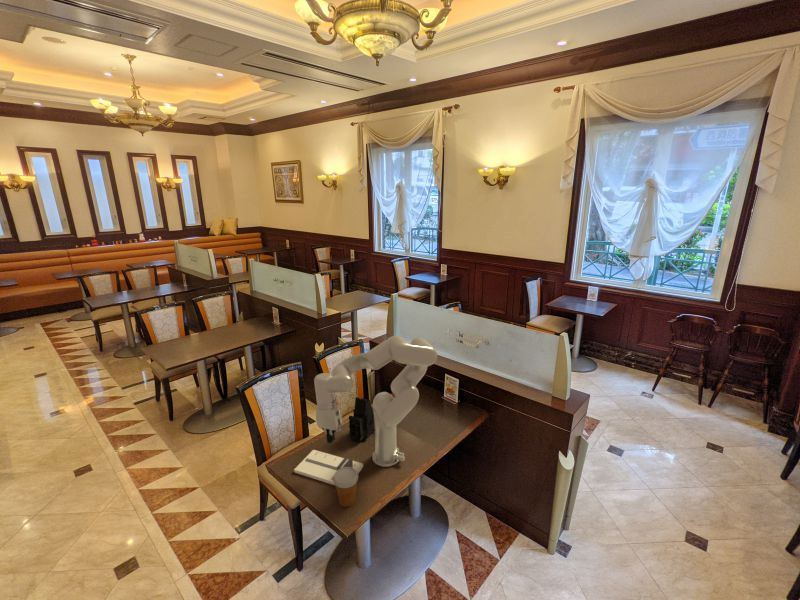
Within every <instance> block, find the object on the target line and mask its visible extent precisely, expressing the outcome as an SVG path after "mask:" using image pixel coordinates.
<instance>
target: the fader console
mask: <svg viewBox="0 0 800 600" xmlns="http://www.w3.org/2000/svg"><path fill="white" fill-rule="evenodd" d="M344 458H345V457H340V456H338V455H334V454H330V453H327V452H323V451H320V450H316V449H312V450H311V451H310V453H308V455H306V457H305V458H304V459H302V461H301V462H300V463H299V464H298V465H297V466H296V467H295V468H294V469H293V472H294V473H295V474H299V475H301V476H305V477H307V478H310V479H314V480H316V481H317V480H318V481H321V482H323V483H326V484H329V485H332V486H335V483H334V481H333V477H334V475H335V473H336V471H337V466H338V465H339V464H340V463H341V462H342V460H343V459H344ZM353 468H354V469H355V470H356V472H357V473H358V474H360V472H361V471H362V469H363V468H364V463H362V462H359V461H355V460H353Z"/></svg>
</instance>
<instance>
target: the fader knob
mask: <svg viewBox="0 0 800 600" xmlns="http://www.w3.org/2000/svg"><path fill="white" fill-rule="evenodd" d="M343 458H344V459H343V460H342V462H341V463H340V464H339V465H338V466H337V470H339V469H340V468H343V467H352V468H353V461H354V460H353V459H349V458H346V457H343Z"/></svg>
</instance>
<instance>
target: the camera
mask: <svg viewBox="0 0 800 600" xmlns="http://www.w3.org/2000/svg"><path fill="white" fill-rule="evenodd" d="M352 411H353V412H352V415H349V416H348V420H349V421H348V428H349V431H348V432H349V434H348V435H349V437H348V438H350V439H352V440H355V441H358V442H361V441H363V440H365V439H369V436H370V435H371V434H372V433H375V422H374V413H373V405H372V402H371V399H367V398H363V397H361V398H360V397H357V396H356V397H355V399H354V408H353V409H352Z"/></svg>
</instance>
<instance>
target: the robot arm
mask: <svg viewBox="0 0 800 600" xmlns="http://www.w3.org/2000/svg"><path fill="white" fill-rule="evenodd" d="M437 359H438V353H437V350H436V348H434V347H433V346H432V344H430V343H429V342H428V341H427V340H426V339H425V338H423V337H421V336H417V337H414V338H413V339H412V340H411V342H410V343H408V342H407V341H406V340H405V339H404V338H403V337H402V336H400V335H392V336H391V337H388V338H387V339H386V340H384V341H382V342H381V343H379V344H377V345H376V346H375V347H373V348H372V349H370V350H369V351H366V352H362V353H359V354H358V353H357V354H355V355H352V356H350V357H347V358H346V359H344V360H342V361H341V362H340V363H338V364H336V366H334V368H332V371H331V373H328V372H322V373H318V374H316V376H315V377H314V380H313V382H314V391H315V397H316V398H315V399H316V406H315V407H316V408H315V422H316V426H317V427H318V428H319V429H321V430H322V431H323V432H324V434H325V435H326V441H327V443H328V444H332V443H333V442H334V441H335V439H336V436H335V433H339V432H341V431H342V428H341V426H342V425H343V419H342V414H341V411H340V407H339V403H338V402H337V401H336V394H337V393H338V394H342V393H343V394H344V393H347V392H349V391H351V390H352V389H353V387H354V379H353V377H352V375H353V374H355V373H356V372H358V371H360V370H363V369H364V370H365V369H368V370H374V371H376V370H380V369H381V368H383V367H384V366H386V365H387V364H388V363H390V362H392V361H395V362H396V363H398V364H402V365H406V366H405V367H404V368H403V369H402V370H401V371H400V373H399V374H397V376H396V377H395V378H394V379H393V380H392V382H391V384H390V389H391V392H392V394H393V395H394V396H393V395H392V394H390V393H389V392H387V391H382V392H381V391H380V392H379V393H377V394H376V395H375V396H374V398H373V401H372V408H373V413H374V429H375V431H374V445H375V450H374V451H373V452H372V454H371V455H372V461H373V463H374V464H375V465H377V466H380V467H382V468H385V467H386V468H387V467H388V468H389V467H393V466H395V465H397V464H398V462H400V461H402V462H405V460H406V457H405V453H404V452H401V451H400V448H399V447H398V446H397V443H398V442H397V426H398V424H400V423H401V422H402V421H403V420H404V418H405V417H406V416H408V415H409V413H411V411H412V410H413V409H414V407H416V405H417V404H418V401H419V397H420V393H419V389H418V388H417V385H418V383H419V382H420V381H421V380H422V379H423V377H424V376H425V374H426V373H427V370H428V367H430V366H432V365H434V364H435V363H436V361H437Z"/></svg>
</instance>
